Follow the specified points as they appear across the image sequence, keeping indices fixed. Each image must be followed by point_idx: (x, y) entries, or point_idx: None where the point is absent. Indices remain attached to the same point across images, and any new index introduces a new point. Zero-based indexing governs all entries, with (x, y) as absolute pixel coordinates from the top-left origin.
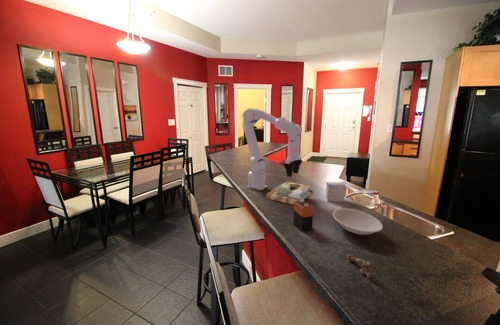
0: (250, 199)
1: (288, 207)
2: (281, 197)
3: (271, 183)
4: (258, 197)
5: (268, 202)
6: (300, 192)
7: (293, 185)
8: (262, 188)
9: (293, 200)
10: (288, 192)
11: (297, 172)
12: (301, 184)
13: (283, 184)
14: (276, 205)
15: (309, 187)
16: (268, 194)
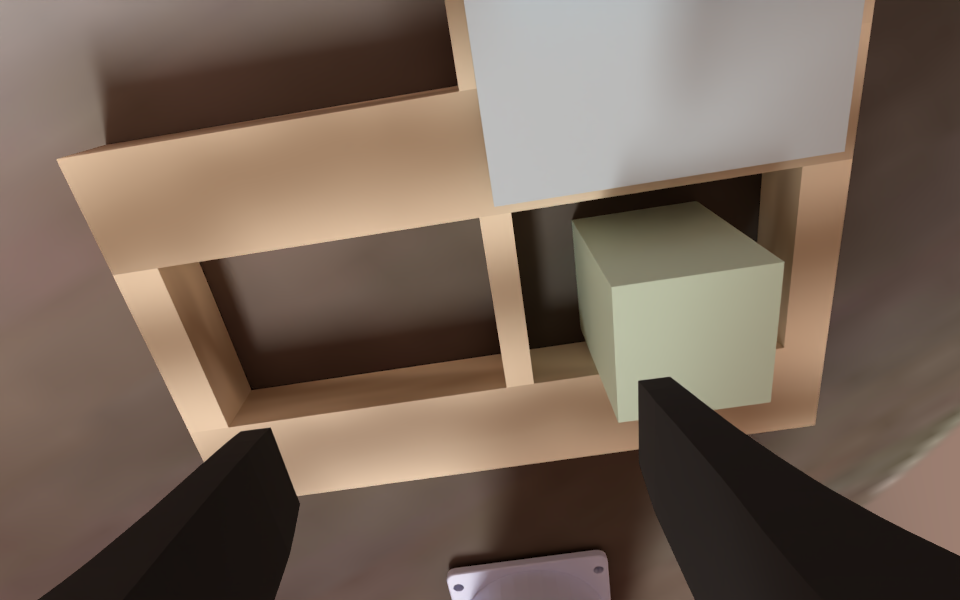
0: (891, 474)
1: (946, 16)
2: (838, 222)
3: (328, 594)
4: (800, 455)
5: (889, 305)
6: (584, 54)
7: (225, 383)
8: (566, 562)
9: (866, 11)
10: (645, 239)
11: (256, 442)
12: (128, 302)
13: (620, 399)
14: (941, 183)
15: (87, 152)
16: (815, 400)
